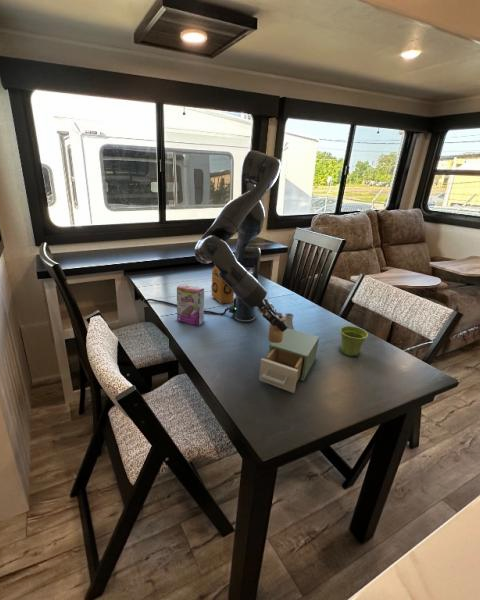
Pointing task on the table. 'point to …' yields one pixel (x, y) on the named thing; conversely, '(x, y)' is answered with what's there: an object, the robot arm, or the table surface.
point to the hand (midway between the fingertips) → (283, 325)
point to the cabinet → (299, 347)
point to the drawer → (281, 369)
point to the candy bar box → (190, 304)
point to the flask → (289, 320)
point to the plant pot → (352, 339)
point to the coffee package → (220, 288)
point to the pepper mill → (276, 331)
